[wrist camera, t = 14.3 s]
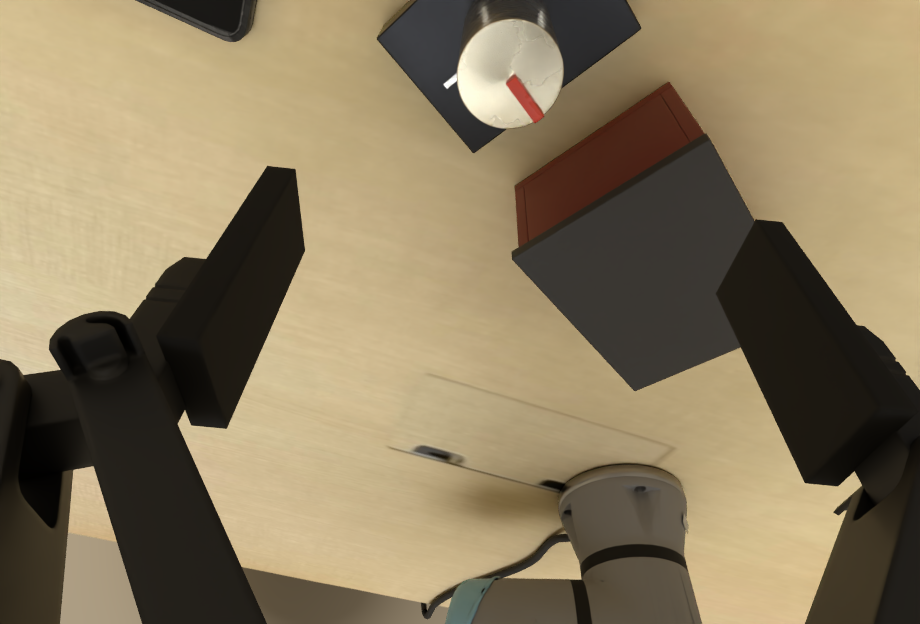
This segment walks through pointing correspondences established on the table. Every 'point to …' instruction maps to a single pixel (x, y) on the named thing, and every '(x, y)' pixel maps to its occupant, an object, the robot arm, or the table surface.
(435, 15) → the console
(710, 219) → the lid
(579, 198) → the reddish brown box
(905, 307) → the table surface
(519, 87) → the dial
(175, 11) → the phone
